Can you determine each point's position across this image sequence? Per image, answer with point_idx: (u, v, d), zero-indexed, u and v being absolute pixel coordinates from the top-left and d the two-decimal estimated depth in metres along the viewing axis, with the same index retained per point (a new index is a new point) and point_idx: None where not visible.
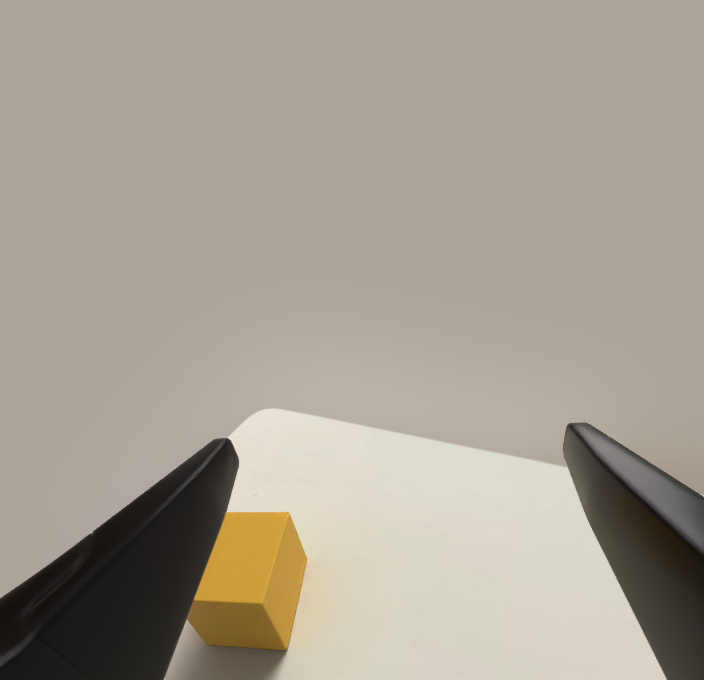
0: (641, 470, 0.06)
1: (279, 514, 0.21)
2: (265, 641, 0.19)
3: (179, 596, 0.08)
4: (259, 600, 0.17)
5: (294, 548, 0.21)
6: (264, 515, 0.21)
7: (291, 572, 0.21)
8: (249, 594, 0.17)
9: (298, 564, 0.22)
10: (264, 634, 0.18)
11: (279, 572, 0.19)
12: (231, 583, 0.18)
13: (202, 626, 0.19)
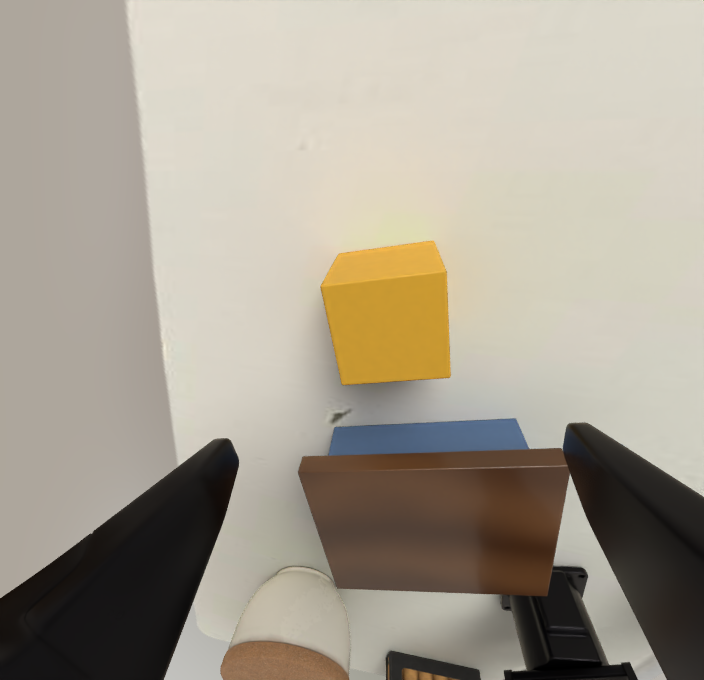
0: (641, 470, 0.06)
1: (430, 277, 0.13)
2: None
3: (179, 596, 0.08)
4: (446, 375, 0.15)
5: None
6: (405, 281, 0.13)
7: None
8: (431, 372, 0.15)
9: None
10: None
11: None
12: (404, 365, 0.15)
13: None
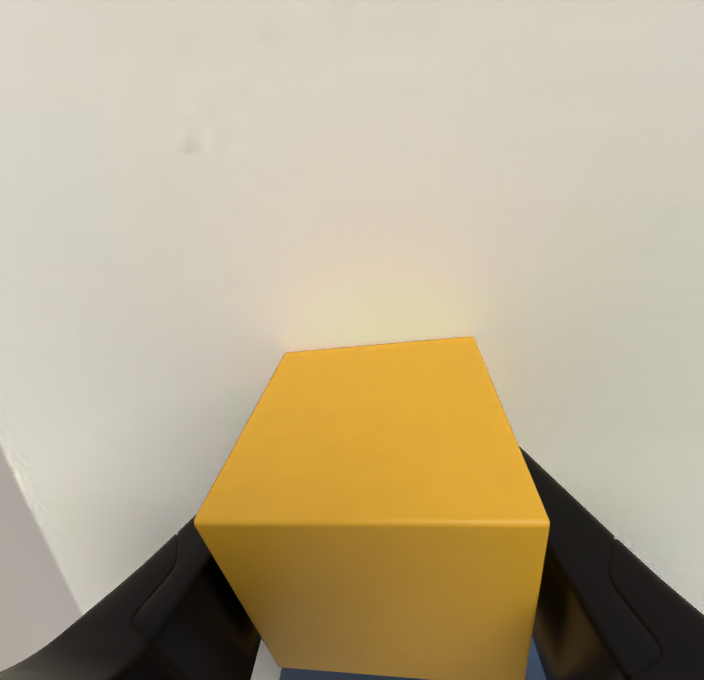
0: None
1: (500, 534, 0.04)
2: None
3: None
4: None
5: None
6: (425, 534, 0.05)
7: None
8: (479, 676, 0.07)
9: None
10: None
11: None
12: (415, 661, 0.07)
13: None
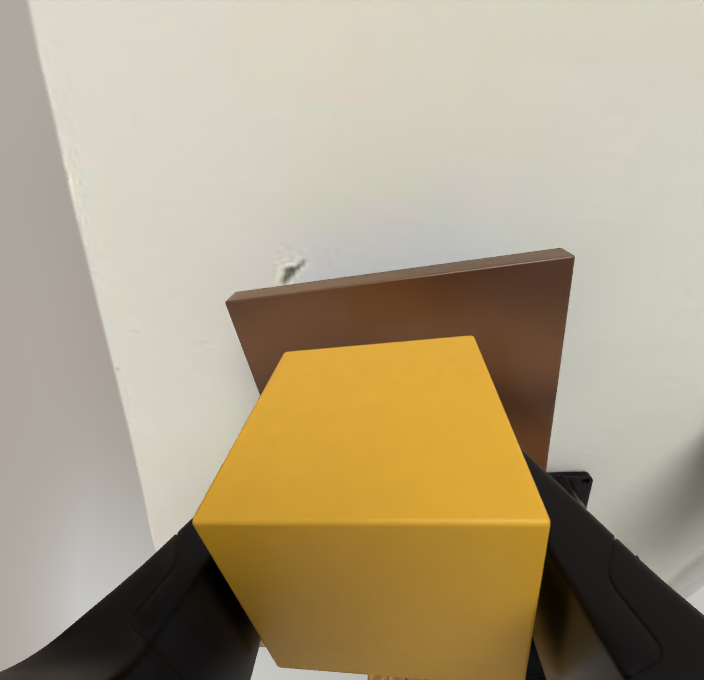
0: None
1: (500, 533, 0.04)
2: None
3: None
4: None
5: None
6: (424, 533, 0.05)
7: None
8: (479, 676, 0.06)
9: None
10: None
11: None
12: (415, 661, 0.06)
13: None
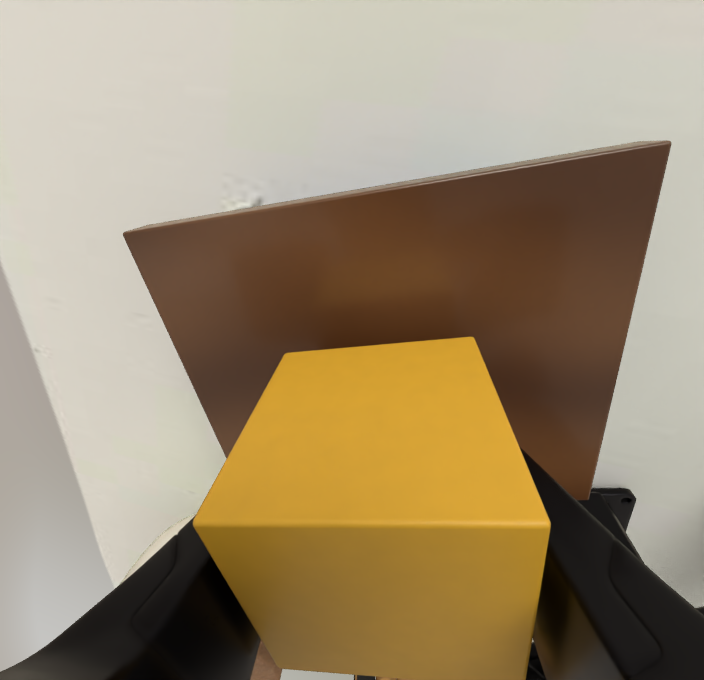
0: None
1: (502, 536, 0.04)
2: None
3: None
4: None
5: None
6: (425, 536, 0.05)
7: None
8: (479, 678, 0.06)
9: None
10: None
11: None
12: (415, 662, 0.06)
13: None
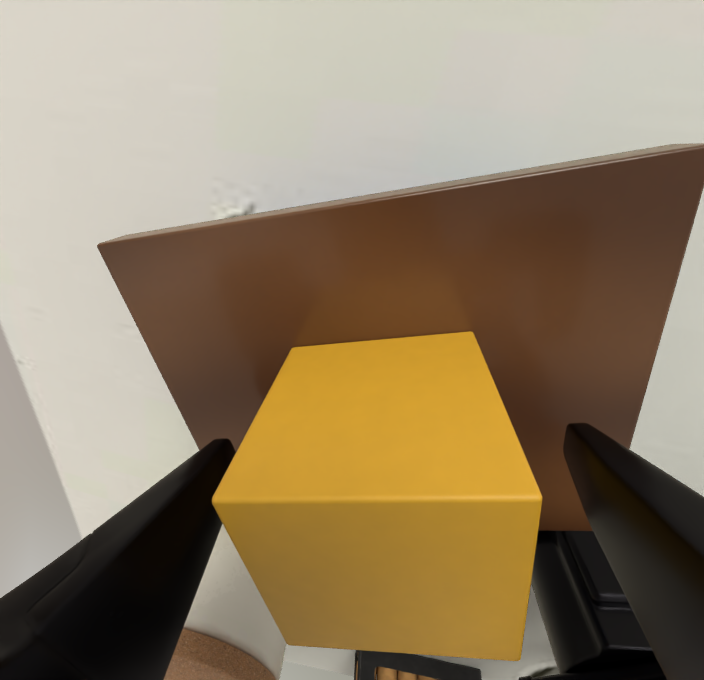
0: (641, 470, 0.06)
1: (496, 509, 0.05)
2: None
3: (179, 596, 0.08)
4: (512, 658, 0.07)
5: None
6: (427, 510, 0.05)
7: None
8: (477, 651, 0.07)
9: None
10: None
11: None
12: (417, 636, 0.07)
13: None
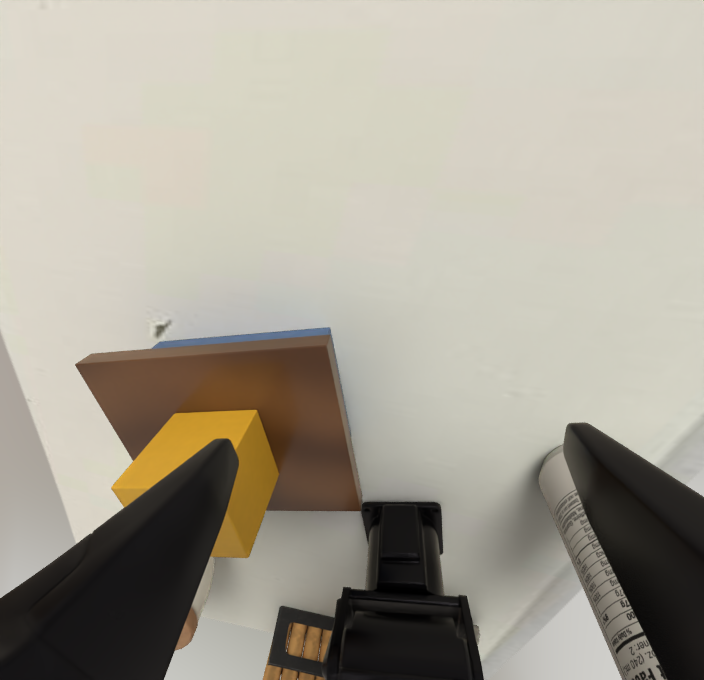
0: (641, 470, 0.06)
1: None
2: None
3: (179, 596, 0.08)
4: (244, 556, 0.16)
5: (242, 460, 0.17)
6: None
7: (252, 469, 0.17)
8: (229, 553, 0.16)
9: (253, 444, 0.18)
10: None
11: (244, 512, 0.16)
12: None
13: None
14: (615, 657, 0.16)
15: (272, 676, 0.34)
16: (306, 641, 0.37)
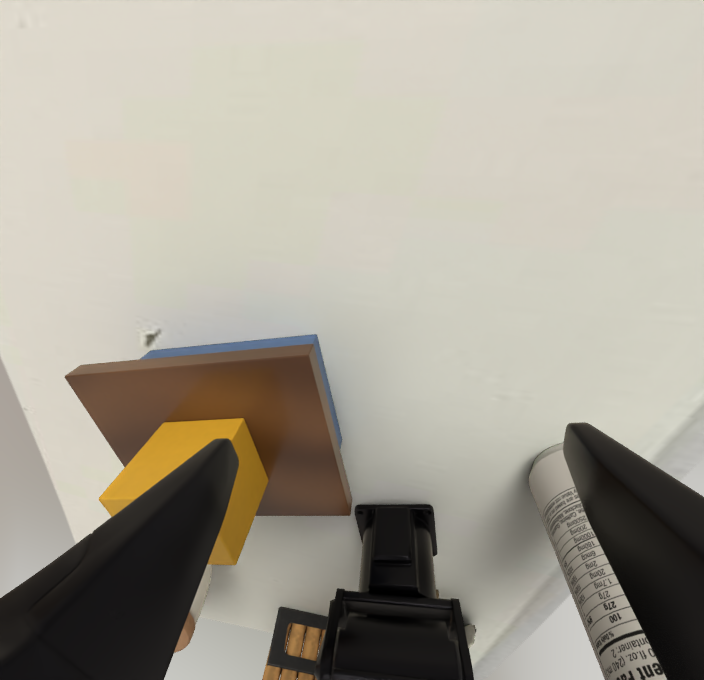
0: (641, 470, 0.06)
1: None
2: None
3: (179, 596, 0.08)
4: (231, 564, 0.17)
5: None
6: None
7: (239, 478, 0.18)
8: (217, 561, 0.17)
9: (240, 452, 0.18)
10: None
11: (231, 520, 0.17)
12: None
13: None
14: (599, 659, 0.16)
15: (271, 676, 0.35)
16: (305, 641, 0.38)
